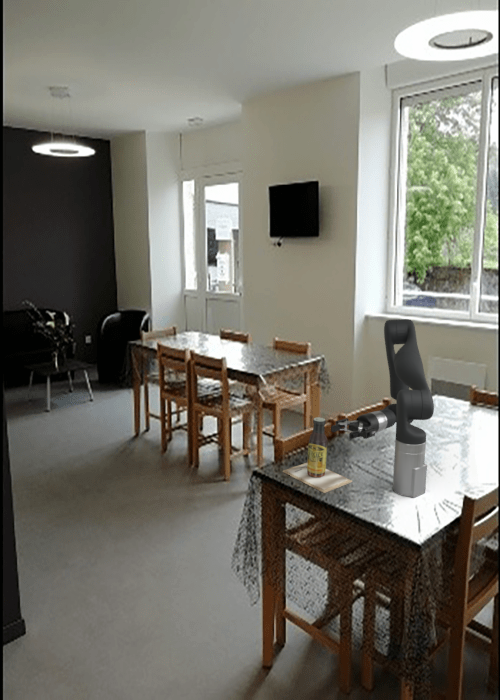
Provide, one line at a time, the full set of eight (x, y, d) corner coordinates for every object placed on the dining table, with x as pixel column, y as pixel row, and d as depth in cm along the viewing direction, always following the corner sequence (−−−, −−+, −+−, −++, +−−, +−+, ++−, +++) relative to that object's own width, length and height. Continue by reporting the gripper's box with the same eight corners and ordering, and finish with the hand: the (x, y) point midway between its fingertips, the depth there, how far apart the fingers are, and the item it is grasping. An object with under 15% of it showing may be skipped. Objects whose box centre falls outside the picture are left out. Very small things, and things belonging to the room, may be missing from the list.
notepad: (352, 482, 185) (352, 479, 185) (324, 493, 177) (324, 491, 177) (310, 462, 200) (310, 460, 200) (282, 472, 193) (282, 470, 192)
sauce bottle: (304, 476, 188) (305, 420, 183) (311, 469, 193) (312, 414, 189) (322, 480, 185) (323, 423, 180) (329, 473, 190) (330, 417, 186)
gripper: (357, 408, 207) (326, 417, 197) (388, 418, 196) (356, 428, 186) (356, 427, 209) (325, 437, 199) (387, 438, 197) (355, 449, 188)
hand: (340, 432), depth 193 cm, fingers open, 8 cm apart
